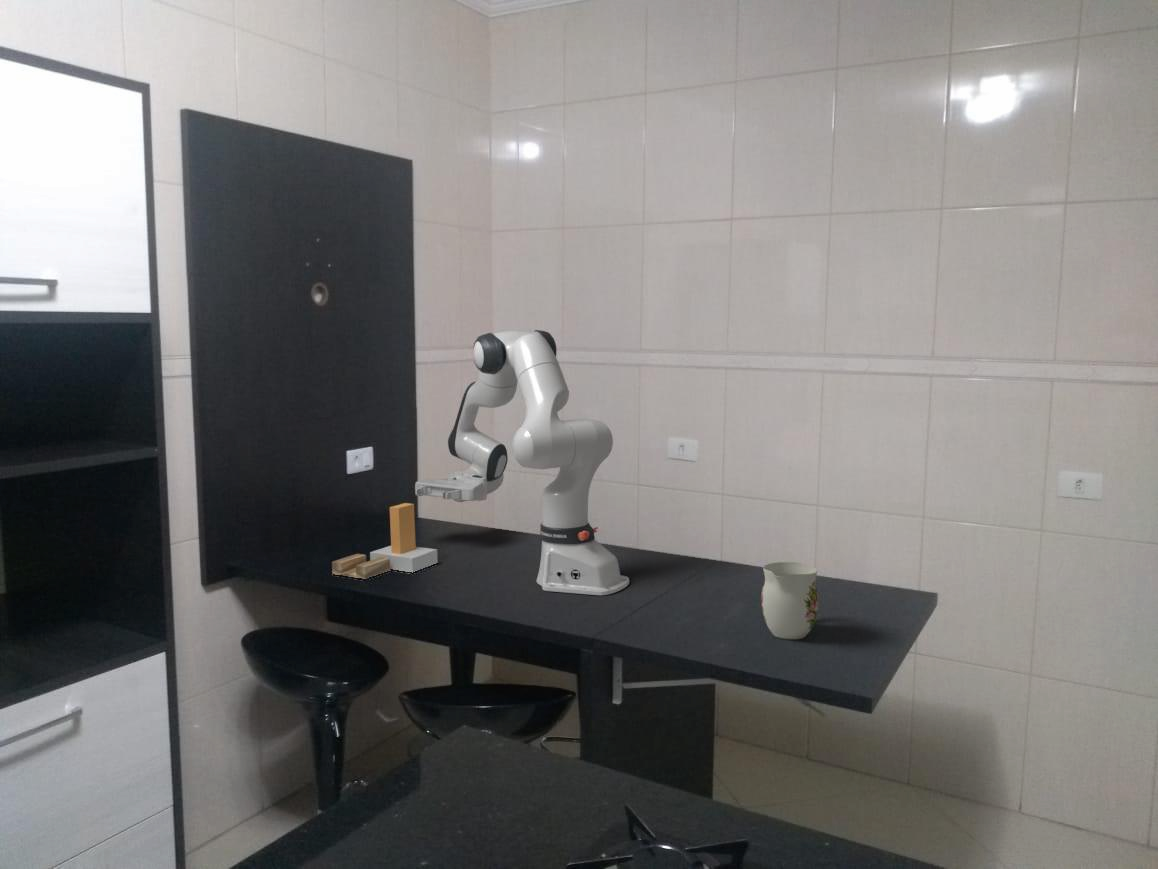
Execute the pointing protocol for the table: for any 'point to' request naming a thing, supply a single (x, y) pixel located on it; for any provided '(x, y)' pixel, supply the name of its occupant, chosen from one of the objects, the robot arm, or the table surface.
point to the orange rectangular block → (402, 528)
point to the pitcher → (789, 599)
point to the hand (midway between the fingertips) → (431, 494)
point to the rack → (360, 566)
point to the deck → (407, 558)
